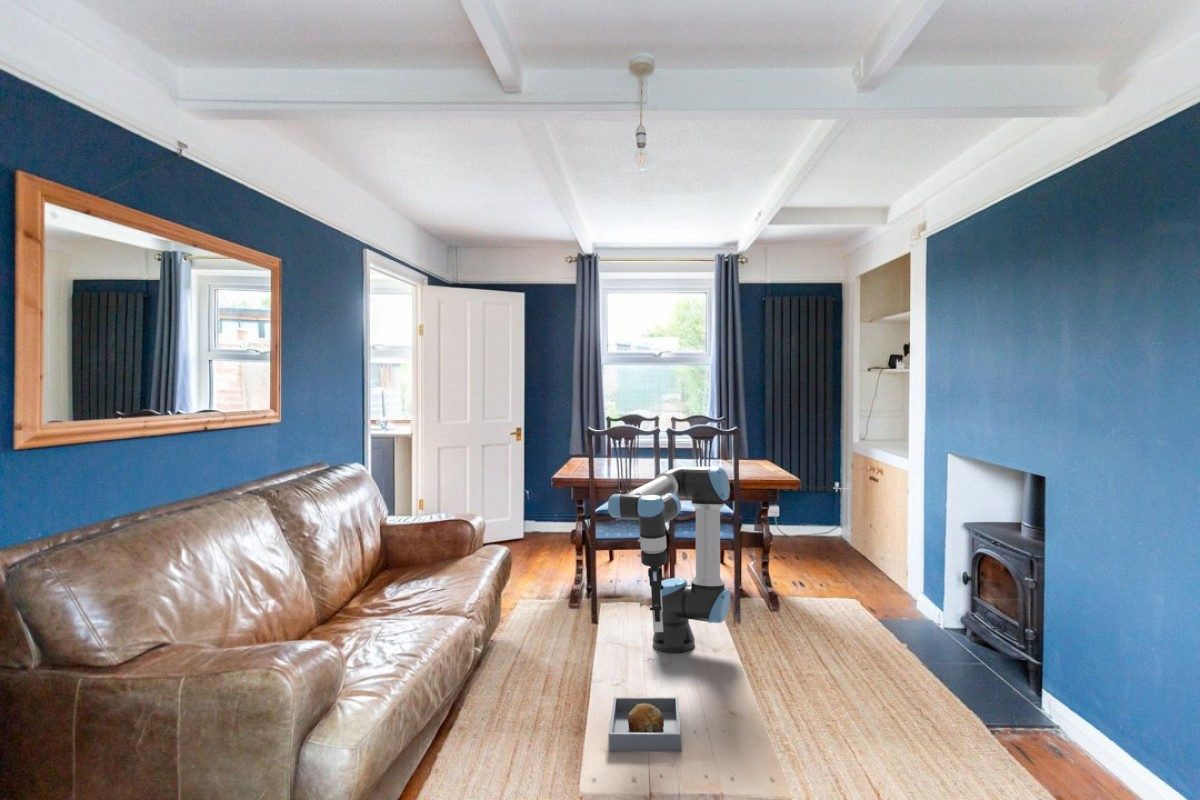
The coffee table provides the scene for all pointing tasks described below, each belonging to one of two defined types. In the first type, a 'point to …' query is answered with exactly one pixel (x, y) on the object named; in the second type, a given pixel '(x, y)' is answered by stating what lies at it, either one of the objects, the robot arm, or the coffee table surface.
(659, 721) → the bread roll
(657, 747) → the grey tray
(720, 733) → the coffee table surface
